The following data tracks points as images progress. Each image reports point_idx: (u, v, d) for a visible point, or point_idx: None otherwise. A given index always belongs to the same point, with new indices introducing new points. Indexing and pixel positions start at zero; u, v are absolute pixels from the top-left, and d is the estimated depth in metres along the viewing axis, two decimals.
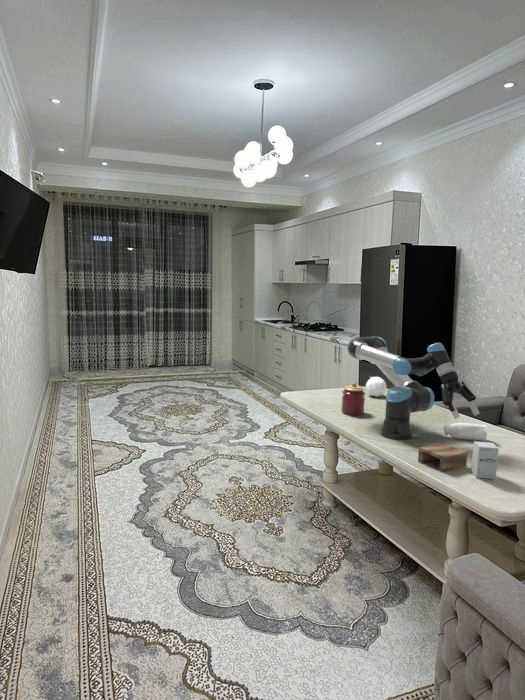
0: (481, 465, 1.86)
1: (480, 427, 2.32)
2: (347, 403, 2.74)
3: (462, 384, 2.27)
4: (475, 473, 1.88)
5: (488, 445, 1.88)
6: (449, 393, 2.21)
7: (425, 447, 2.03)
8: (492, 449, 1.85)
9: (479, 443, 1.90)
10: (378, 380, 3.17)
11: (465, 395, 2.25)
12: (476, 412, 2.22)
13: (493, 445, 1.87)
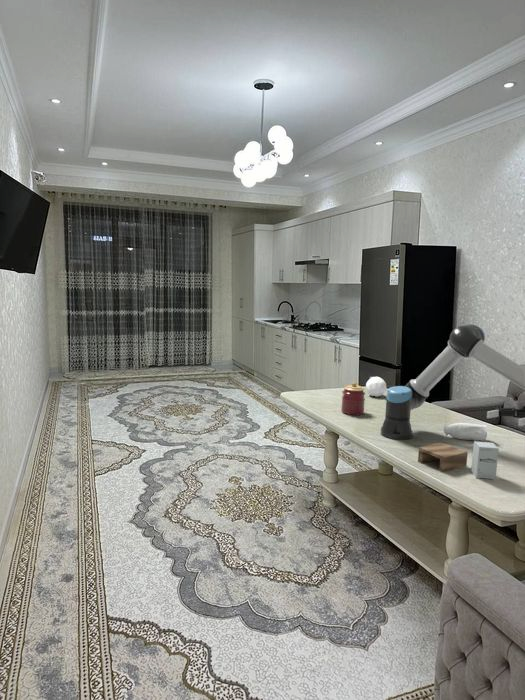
0: (481, 465, 1.86)
1: (480, 427, 2.32)
2: (347, 403, 2.74)
3: None
4: (475, 473, 1.88)
5: (488, 445, 1.88)
6: None
7: (425, 447, 2.03)
8: (492, 449, 1.85)
9: (479, 443, 1.89)
10: (378, 380, 3.17)
11: (506, 413, 2.02)
12: (489, 416, 1.99)
13: (493, 445, 1.87)
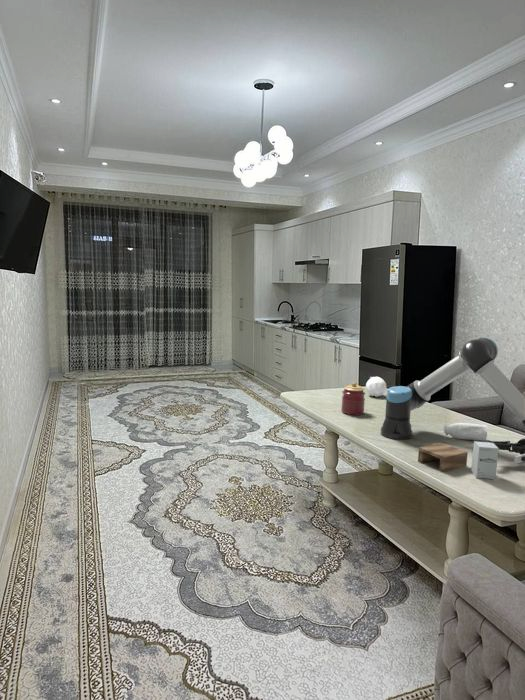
0: (481, 465, 1.86)
1: (480, 427, 2.32)
2: (347, 403, 2.74)
3: None
4: (475, 473, 1.88)
5: (488, 445, 1.88)
6: None
7: (425, 447, 2.03)
8: (492, 449, 1.85)
9: (479, 443, 1.89)
10: (378, 380, 3.17)
11: (502, 447, 2.02)
12: None
13: (493, 445, 1.87)
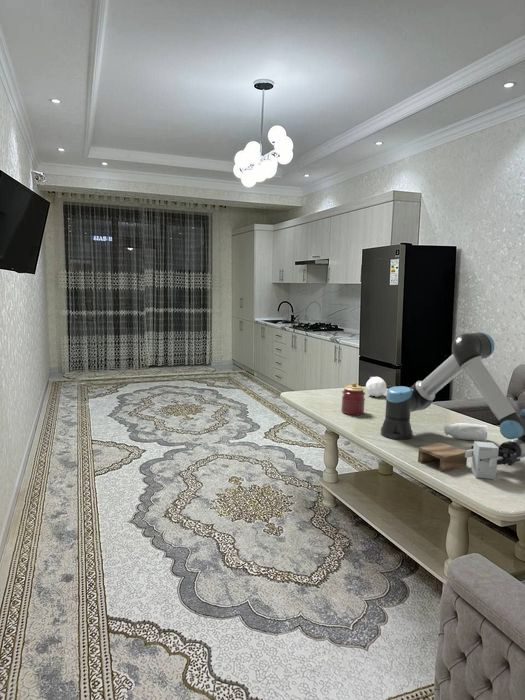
0: (481, 465, 1.86)
1: (480, 427, 2.32)
2: (347, 403, 2.74)
3: None
4: (475, 473, 1.88)
5: (488, 444, 1.88)
6: None
7: (425, 447, 2.03)
8: (492, 449, 1.85)
9: (479, 443, 1.90)
10: (378, 380, 3.17)
11: None
12: (468, 455, 1.92)
13: (493, 445, 1.87)
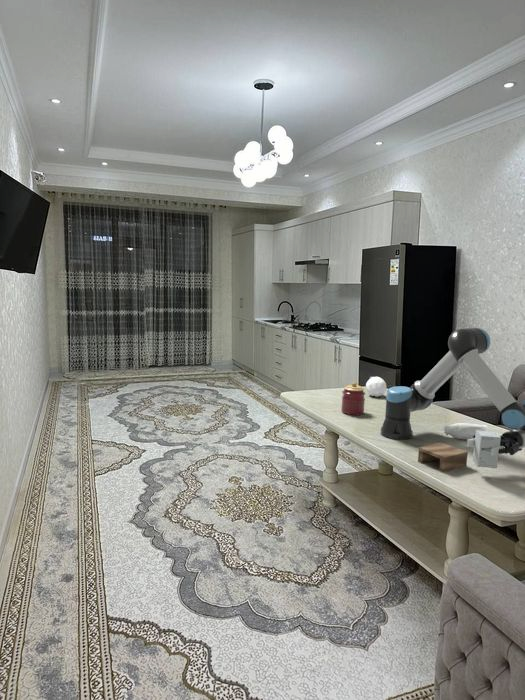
0: (483, 454, 1.85)
1: (481, 427, 2.31)
2: (347, 403, 2.74)
3: None
4: (477, 462, 1.87)
5: (490, 434, 1.87)
6: None
7: (425, 447, 2.03)
8: (494, 438, 1.84)
9: (481, 432, 1.89)
10: (378, 380, 3.17)
11: None
12: (469, 444, 1.91)
13: (495, 434, 1.86)
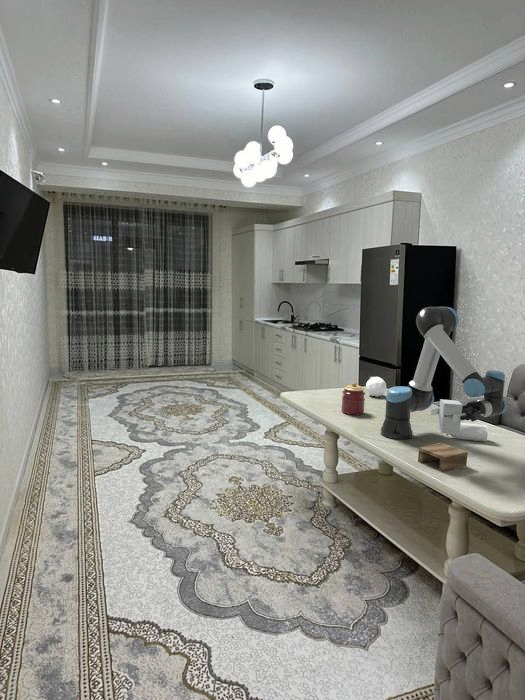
0: (446, 421, 1.95)
1: (481, 427, 2.31)
2: (347, 403, 2.74)
3: None
4: (440, 429, 1.97)
5: (452, 402, 1.96)
6: (471, 414, 1.98)
7: (425, 447, 2.03)
8: (456, 405, 1.93)
9: (445, 400, 1.98)
10: (378, 380, 3.17)
11: None
12: (434, 412, 2.00)
13: (458, 402, 1.96)
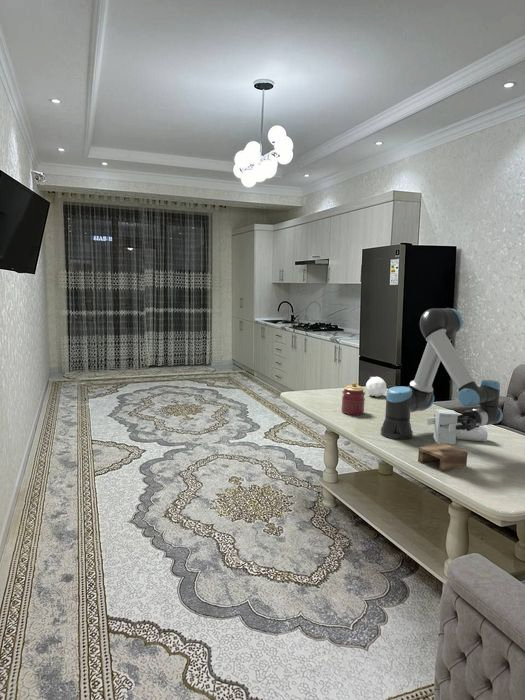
0: (442, 430, 1.96)
1: (481, 427, 2.31)
2: (347, 403, 2.74)
3: None
4: (436, 439, 1.98)
5: (448, 411, 1.98)
6: (466, 423, 2.00)
7: (425, 447, 2.03)
8: (451, 415, 1.95)
9: (440, 410, 1.99)
10: (378, 380, 3.17)
11: None
12: (430, 422, 2.02)
13: (453, 412, 1.97)
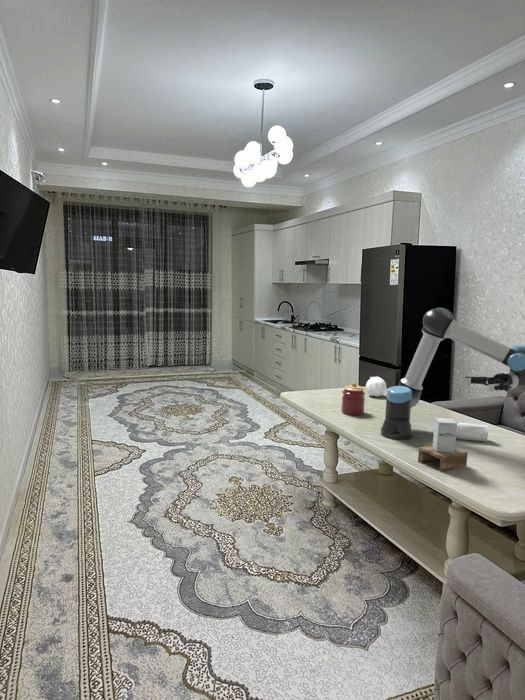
0: (441, 439, 1.97)
1: (481, 427, 2.31)
2: (347, 403, 2.74)
3: None
4: (435, 447, 1.99)
5: (447, 420, 1.98)
6: None
7: (425, 447, 2.03)
8: (451, 424, 1.95)
9: (439, 419, 2.00)
10: (378, 380, 3.17)
11: (478, 381, 2.15)
12: (462, 383, 2.12)
13: (452, 421, 1.98)
